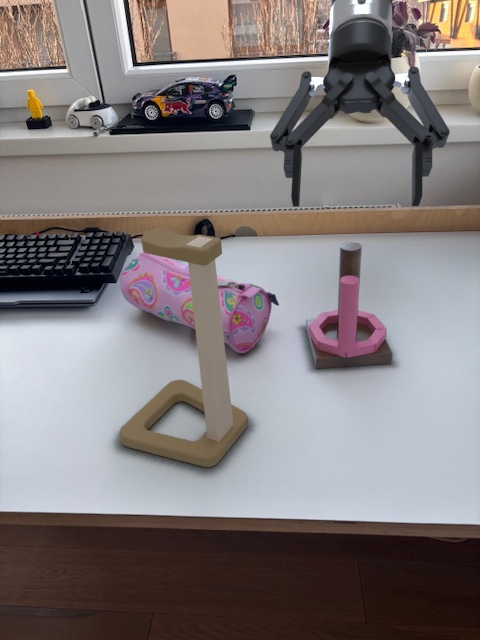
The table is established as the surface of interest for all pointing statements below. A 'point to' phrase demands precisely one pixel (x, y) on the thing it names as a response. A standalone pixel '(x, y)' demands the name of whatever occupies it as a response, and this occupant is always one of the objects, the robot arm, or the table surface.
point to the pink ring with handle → (348, 325)
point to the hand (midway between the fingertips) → (354, 201)
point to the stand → (383, 355)
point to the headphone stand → (215, 393)
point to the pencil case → (176, 299)
